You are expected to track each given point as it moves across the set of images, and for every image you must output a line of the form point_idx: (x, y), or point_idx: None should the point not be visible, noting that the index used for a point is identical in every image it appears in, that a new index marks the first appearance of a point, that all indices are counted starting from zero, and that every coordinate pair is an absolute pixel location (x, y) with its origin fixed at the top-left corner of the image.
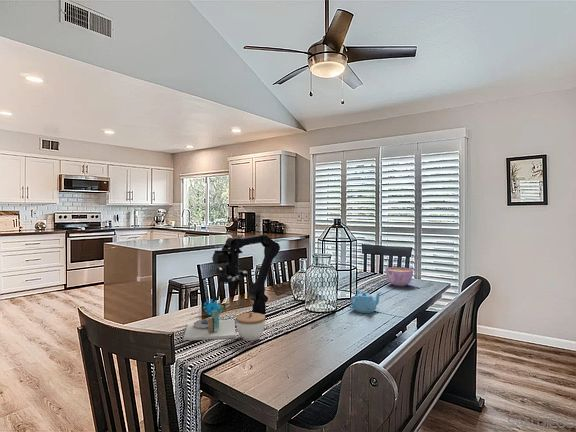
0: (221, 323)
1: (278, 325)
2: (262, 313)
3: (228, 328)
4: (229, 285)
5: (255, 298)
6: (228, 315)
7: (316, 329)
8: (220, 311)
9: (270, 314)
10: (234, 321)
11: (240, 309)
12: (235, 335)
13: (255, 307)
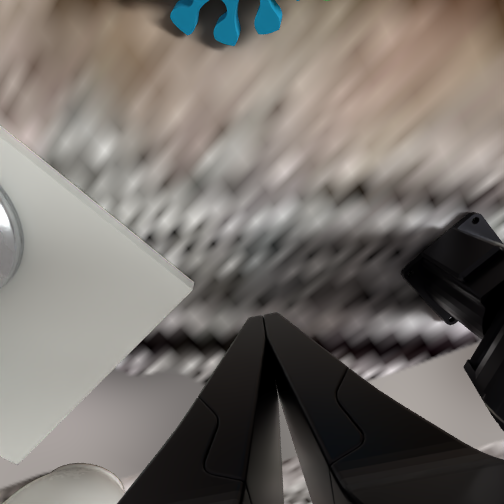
0: (68, 281)
1: (297, 476)
2: (434, 310)
3: (46, 379)
4: (169, 441)
5: (482, 364)
6: (281, 127)
7: None
8: (262, 31)
9: (447, 347)
10: (162, 317)
11: (477, 80)
12: (18, 462)
13: (450, 286)
